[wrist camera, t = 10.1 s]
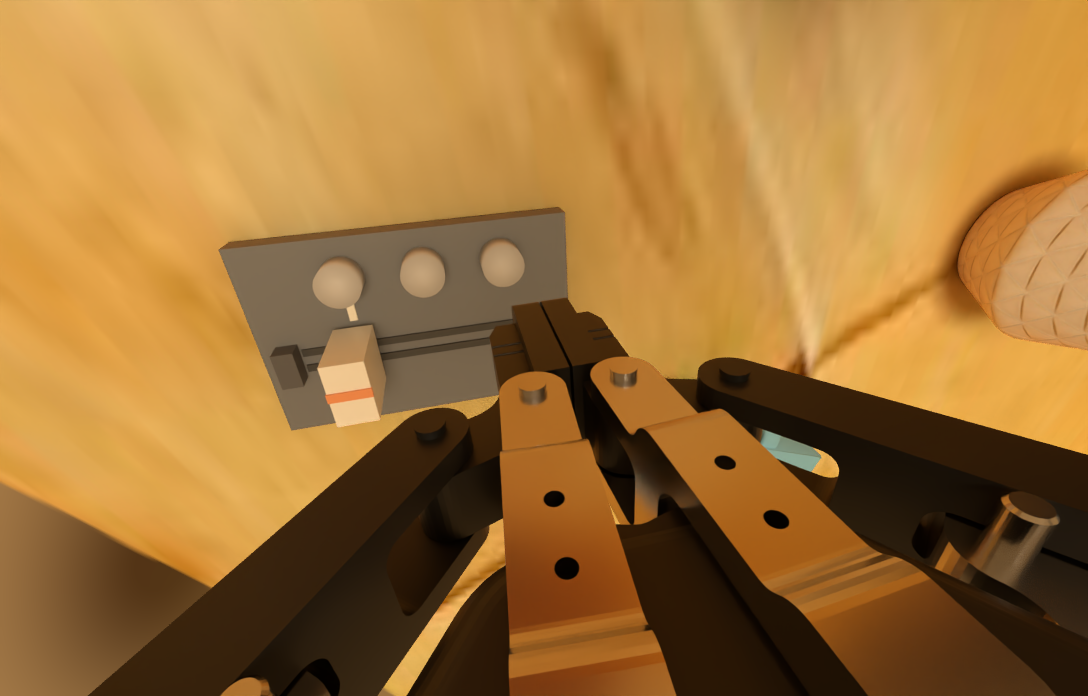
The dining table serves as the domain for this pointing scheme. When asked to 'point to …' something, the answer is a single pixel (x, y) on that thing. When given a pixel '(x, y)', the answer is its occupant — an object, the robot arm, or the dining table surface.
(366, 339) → the block
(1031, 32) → the dining table surface
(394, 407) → the console
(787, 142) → the dining table surface
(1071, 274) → the vase
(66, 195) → the dining table surface
